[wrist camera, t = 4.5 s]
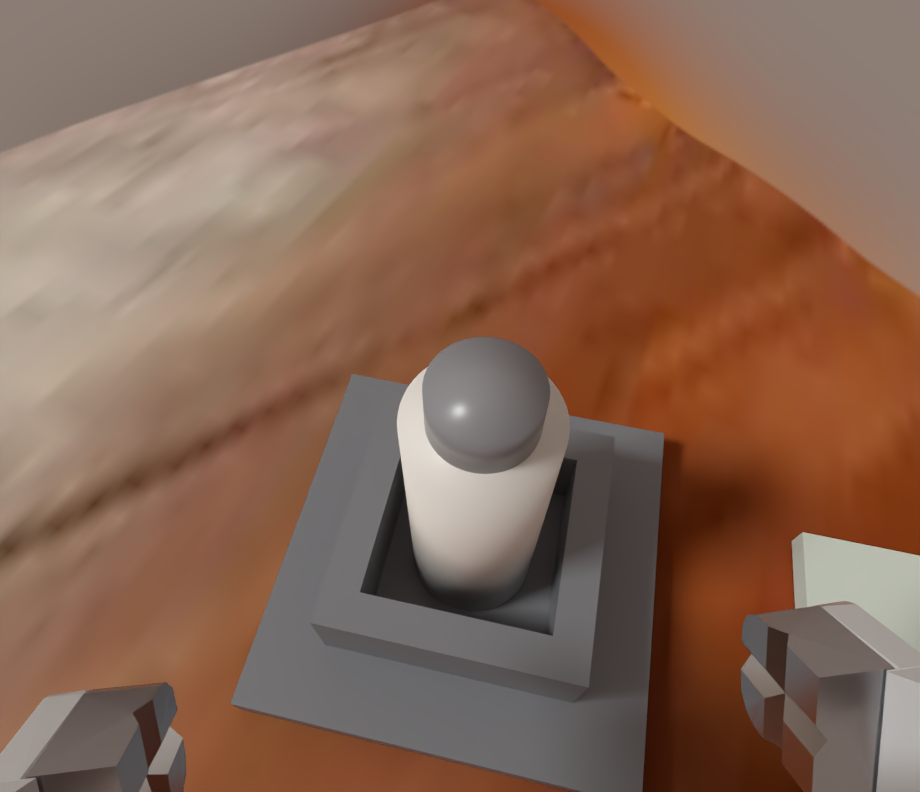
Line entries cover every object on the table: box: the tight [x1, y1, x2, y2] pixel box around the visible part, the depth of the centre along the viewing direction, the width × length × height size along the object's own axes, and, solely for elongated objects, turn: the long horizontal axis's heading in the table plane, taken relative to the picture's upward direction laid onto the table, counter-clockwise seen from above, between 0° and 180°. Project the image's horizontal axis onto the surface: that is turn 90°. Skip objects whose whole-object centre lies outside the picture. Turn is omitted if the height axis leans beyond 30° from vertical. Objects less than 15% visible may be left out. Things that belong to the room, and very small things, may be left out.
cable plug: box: [397, 337, 570, 612], centre depth 16 cm, size 4×4×9 cm
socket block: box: [230, 374, 664, 792], centre depth 20 cm, size 11×11×4 cm
